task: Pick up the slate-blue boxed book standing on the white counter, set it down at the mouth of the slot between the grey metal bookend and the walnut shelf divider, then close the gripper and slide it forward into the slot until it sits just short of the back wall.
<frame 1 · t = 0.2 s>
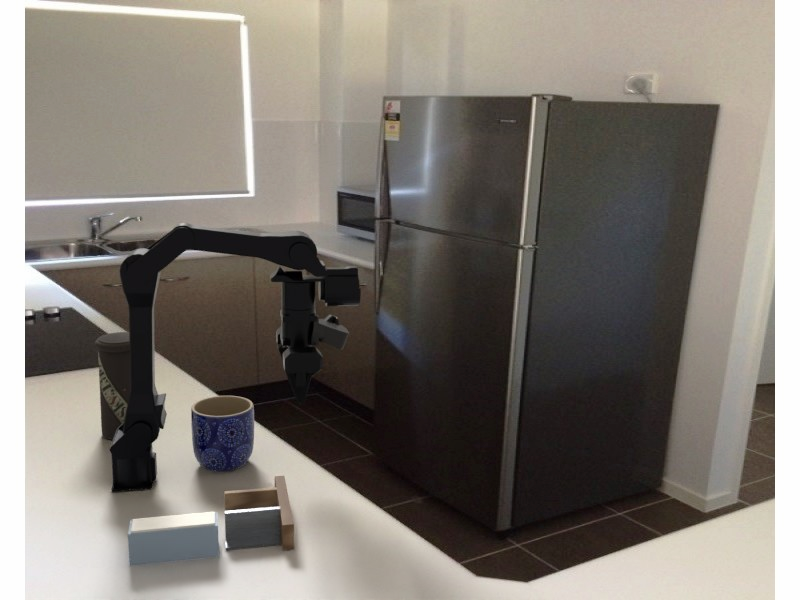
hand: (298, 394, 132), 14 cm above the table, fingers open, 9 cm apart
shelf: (252, 525, 116), on the table
container: (124, 433, 150), on the table
bookend: (253, 537, 113), on the table
planter: (224, 465, 137), on the table
book: (175, 554, 108), on the table
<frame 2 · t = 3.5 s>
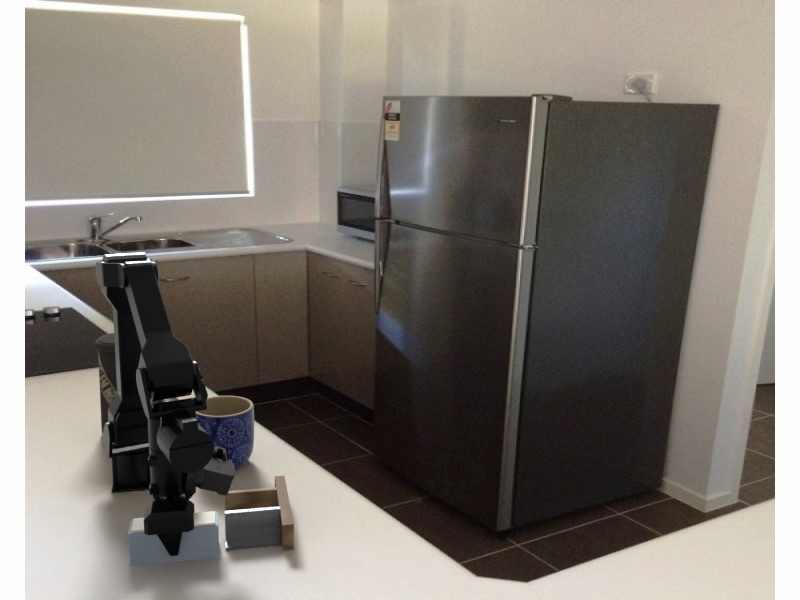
hand: (175, 547, 108), 1 cm above the table, fingers closed on book, 4 cm apart
book: (175, 554, 108), on the table, touching gripper
everything else where it was.
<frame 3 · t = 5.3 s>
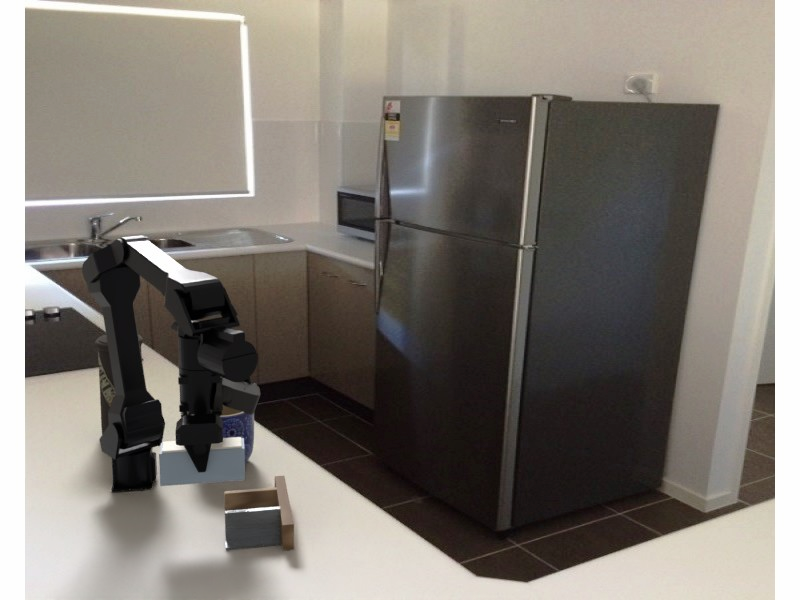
hand: (202, 465, 113), 10 cm above the table, fingers closed on book, 4 cm apart
book: (203, 477, 113), point 9 cm above the table, touching gripper
everything else where it was.
when the fingers open (2 cm above the table, at t = 7.0 s): book stays where it is, on the table.
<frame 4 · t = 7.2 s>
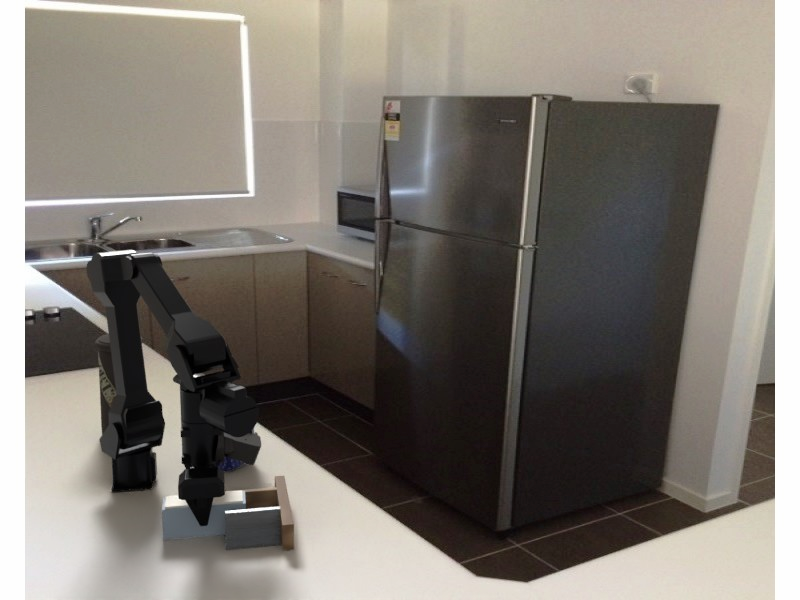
hand: (204, 514, 114), 2 cm above the table, fingers open, 6 cm apart
book: (205, 530, 115), on the table
everything else where it was.
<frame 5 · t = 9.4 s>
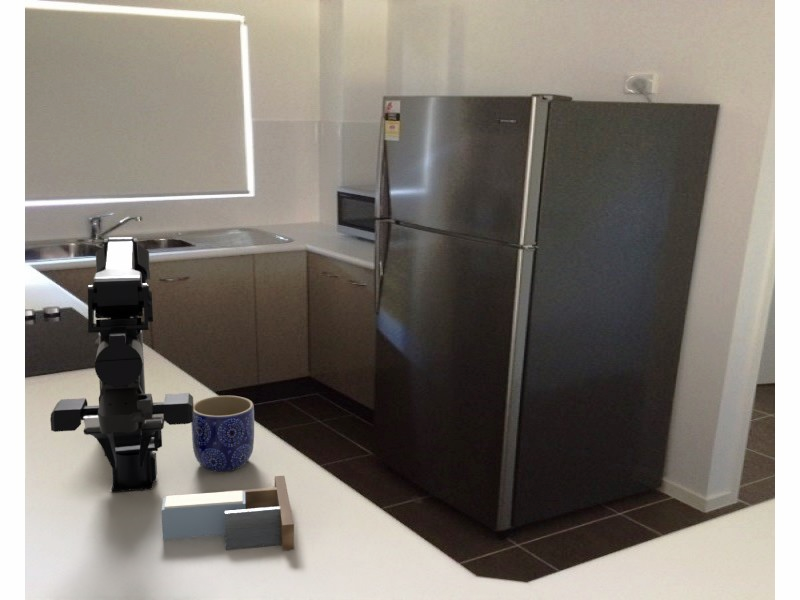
hand: (128, 467, 110), 11 cm above the table, fingers open, 3 cm apart
nothing on the table moved.
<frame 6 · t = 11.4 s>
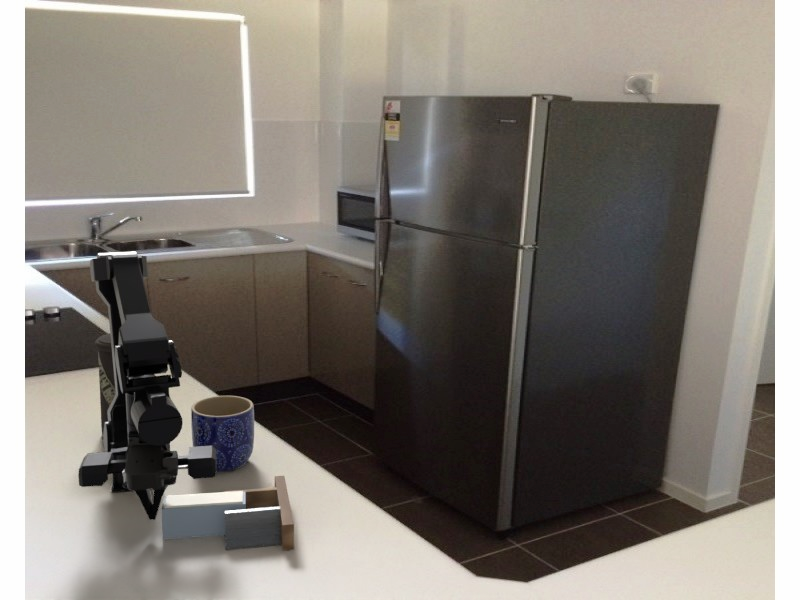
hand: (152, 518, 112), 3 cm above the table, fingers closed
book: (205, 530, 115), on the table, touching gripper
everything else where it was.
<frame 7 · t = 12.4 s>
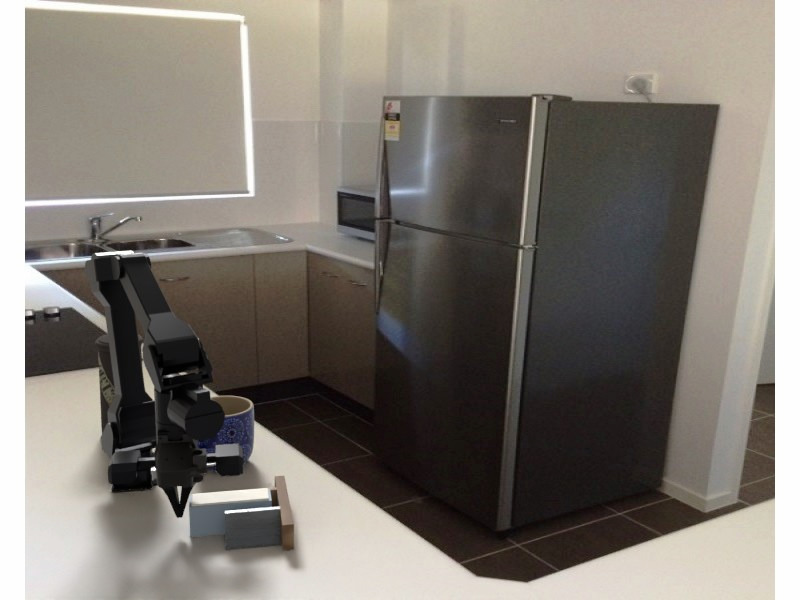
hand: (179, 516, 113), 3 cm above the table, fingers closed
book: (231, 527, 116), on the table
everything else where it was.
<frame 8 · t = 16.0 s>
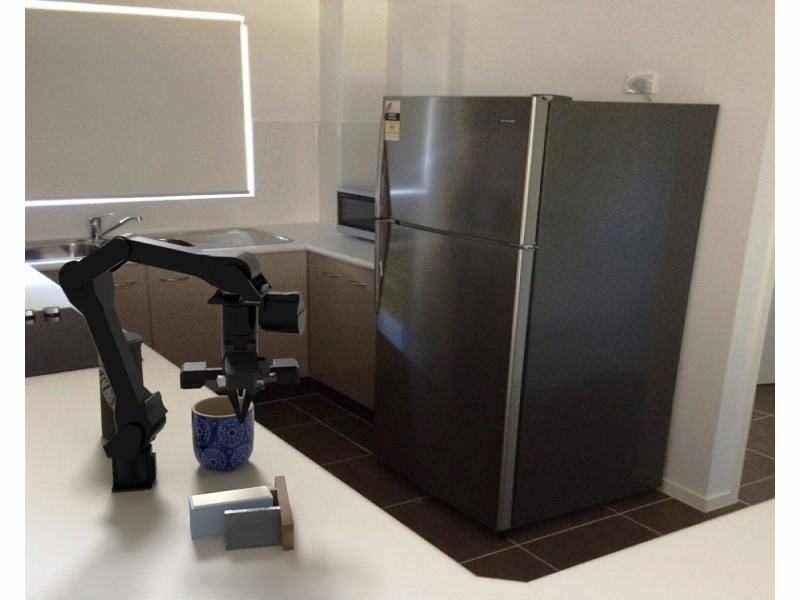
hand: (241, 423, 125), 12 cm above the table, fingers closed
nothing on the table moved.
at the end: book 0.4 cm from the target spot, on the table; book tilted 0°; book moved 10.1 cm from its start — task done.
